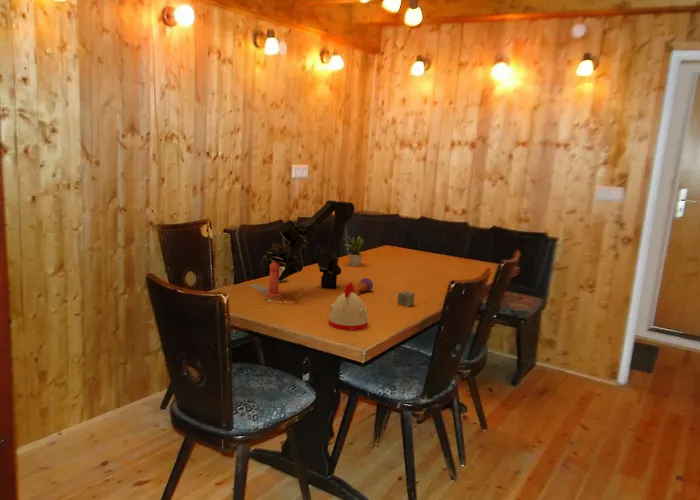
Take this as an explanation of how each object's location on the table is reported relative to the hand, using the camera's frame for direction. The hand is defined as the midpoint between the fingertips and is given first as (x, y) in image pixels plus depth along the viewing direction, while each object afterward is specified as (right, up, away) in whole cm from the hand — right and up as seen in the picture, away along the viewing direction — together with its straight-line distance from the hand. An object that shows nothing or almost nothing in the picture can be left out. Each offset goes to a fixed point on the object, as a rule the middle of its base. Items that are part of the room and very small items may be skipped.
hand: (271, 277), depth 228 cm
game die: (0, -4, +28) cm, 29 cm away
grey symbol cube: (+54, -11, +5) cm, 56 cm away
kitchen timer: (+31, -15, -25) cm, 43 cm away
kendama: (+35, -8, +17) cm, 40 cm away
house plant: (+34, +3, +77) cm, 84 cm away
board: (-4, -7, +10) cm, 13 cm away
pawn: (+1, -7, +2) cm, 8 cm away
